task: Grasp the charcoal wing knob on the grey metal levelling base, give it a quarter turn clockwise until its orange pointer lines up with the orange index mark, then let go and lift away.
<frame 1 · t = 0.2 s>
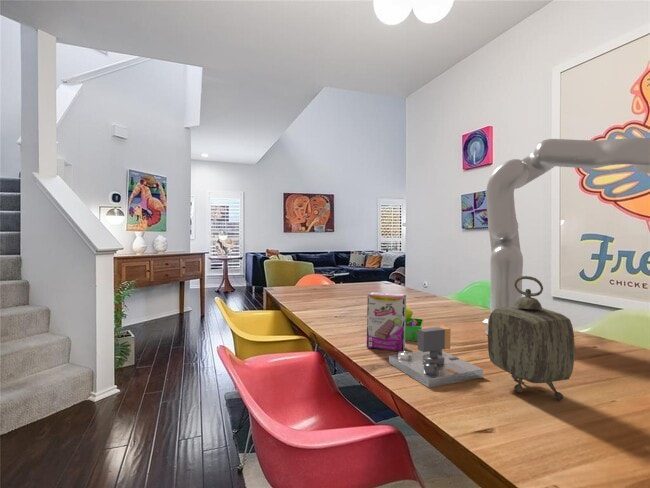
tabletop clock: (525, 391, 73), on the table
levelling base: (433, 369, 84), on the table
candy bar box: (386, 348, 101), on the table
knob: (434, 344, 84), point 6 cm above the table, hinge at 0.0°
fruit basket: (408, 337, 114), on the table
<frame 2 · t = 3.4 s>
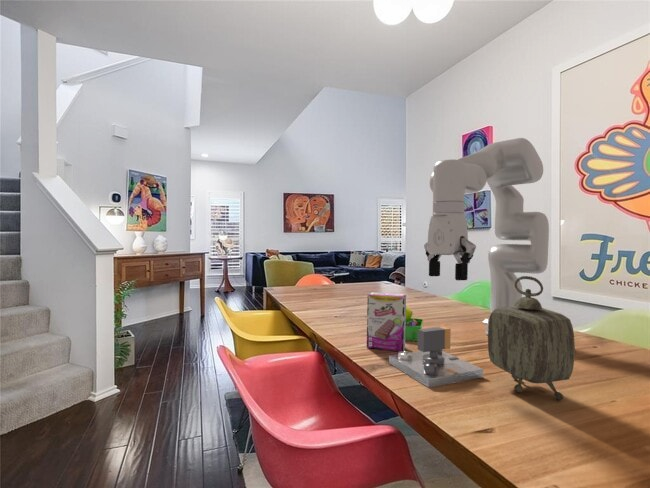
hand: (447, 278, 84), 23 cm above the table, tool pointing down, fingers open, 9 cm apart
nothing on the table moved.
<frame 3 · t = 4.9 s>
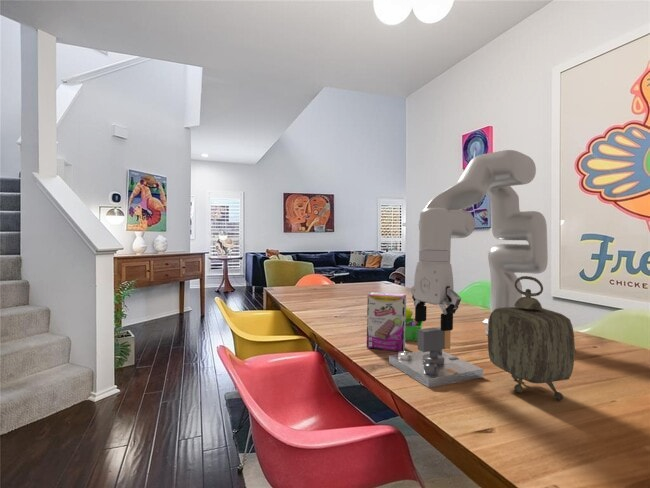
hand: (432, 325, 84), 11 cm above the table, tool pointing down, fingers open, 9 cm apart
nothing on the table moved.
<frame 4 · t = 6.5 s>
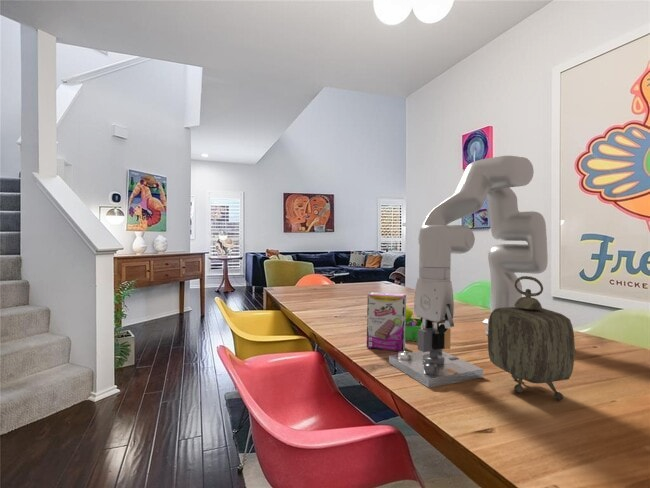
hand: (433, 346, 84), 6 cm above the table, tool pointing down, fingers closed on knob, 2 cm apart
knob: (434, 344, 84), point 6 cm above the table, hinge at 0.0°, touching gripper
everything else where it was.
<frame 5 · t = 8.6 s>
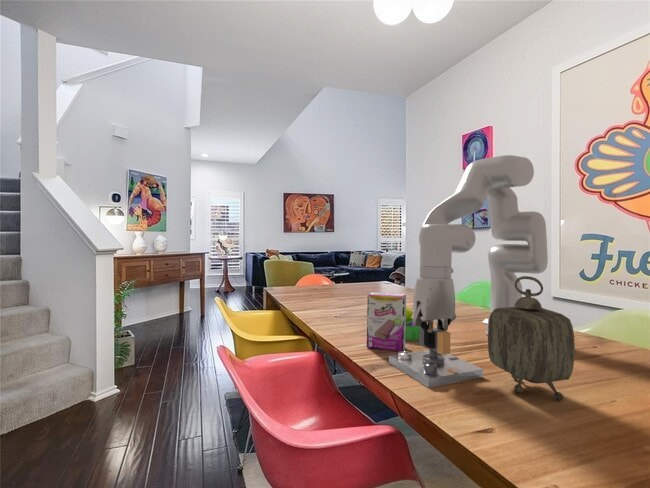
hand: (434, 345, 84), 6 cm above the table, tool pointing down, fingers closed on knob, 2 cm apart
knob: (434, 344, 84), point 6 cm above the table, hinge at -85.6°, touching gripper
everything else where it was.
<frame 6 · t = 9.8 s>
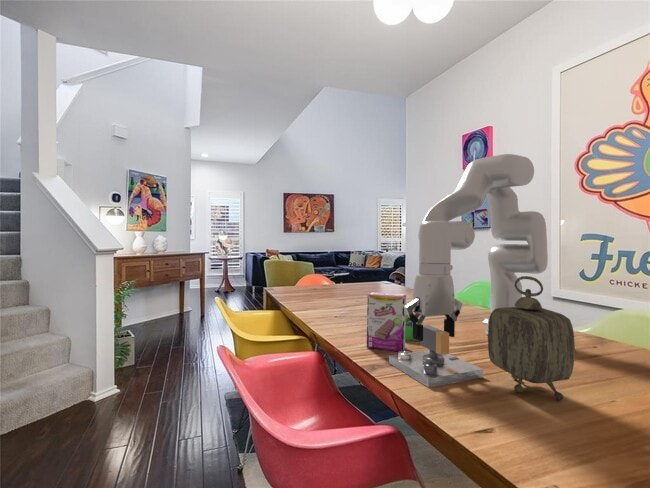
hand: (433, 337, 84), 8 cm above the table, tool pointing down, fingers open, 9 cm apart
knob: (433, 344, 84), point 6 cm above the table, hinge at -92.1°
everything else where it was.
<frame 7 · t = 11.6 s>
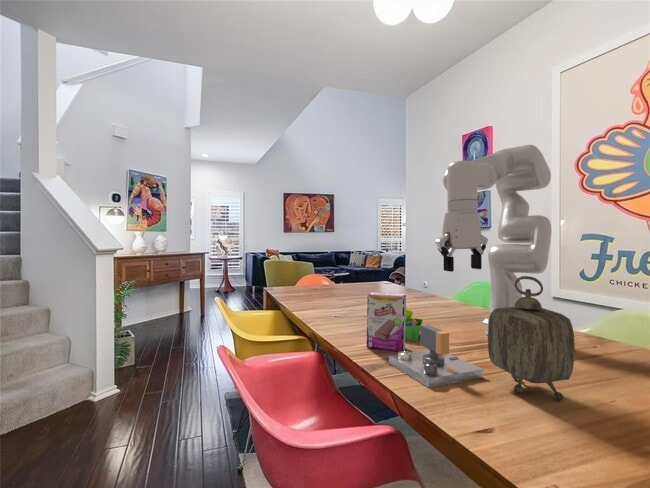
hand: (462, 269, 92), 25 cm above the table, tool pointing down, fingers open, 9 cm apart
knob: (433, 344, 84), point 6 cm above the table, hinge at -92.8°
everything else where it was.
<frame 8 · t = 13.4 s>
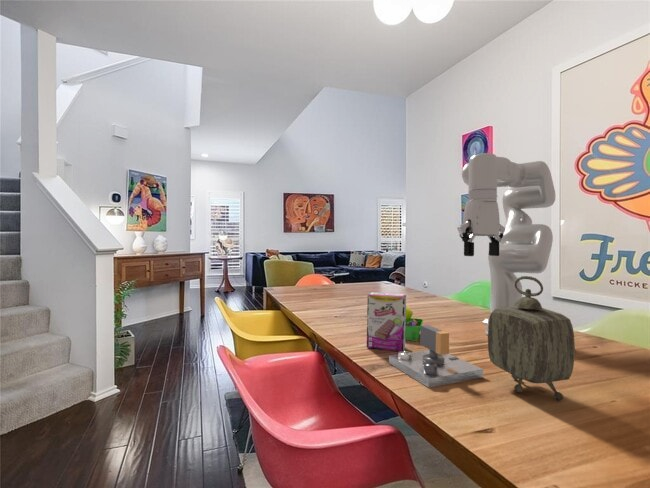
hand: (481, 255, 98), 28 cm above the table, tool pointing down, fingers open, 9 cm apart
nothing on the table moved.
at the end: knob at -93° (first picture: +0°); the gripper is holding nothing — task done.
